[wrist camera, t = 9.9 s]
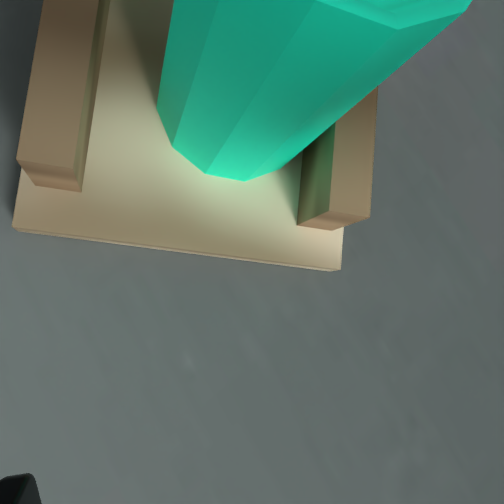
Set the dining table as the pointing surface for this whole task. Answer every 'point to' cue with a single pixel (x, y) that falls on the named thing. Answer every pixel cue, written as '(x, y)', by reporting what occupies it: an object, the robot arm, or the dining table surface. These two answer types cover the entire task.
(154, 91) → the dock
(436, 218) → the dining table surface
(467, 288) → the dining table surface
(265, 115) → the candle
